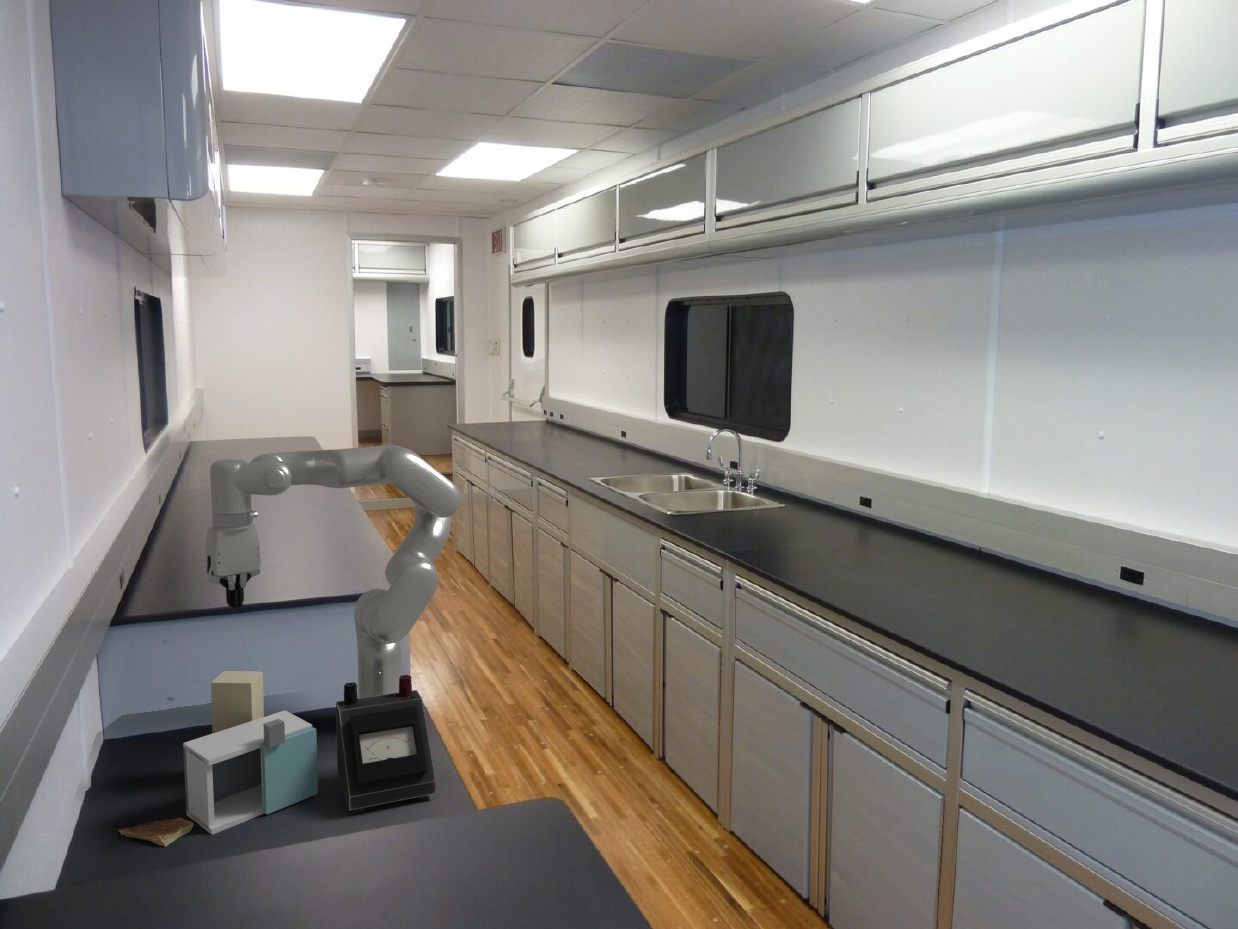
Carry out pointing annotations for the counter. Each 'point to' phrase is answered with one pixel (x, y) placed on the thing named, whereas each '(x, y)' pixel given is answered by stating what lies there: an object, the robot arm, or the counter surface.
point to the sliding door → (288, 766)
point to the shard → (159, 830)
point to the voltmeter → (383, 747)
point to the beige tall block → (236, 699)
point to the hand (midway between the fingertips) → (235, 606)
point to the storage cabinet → (229, 773)
